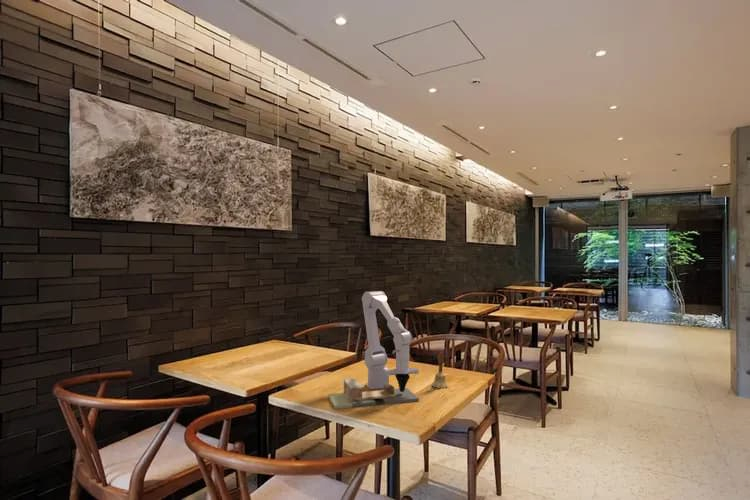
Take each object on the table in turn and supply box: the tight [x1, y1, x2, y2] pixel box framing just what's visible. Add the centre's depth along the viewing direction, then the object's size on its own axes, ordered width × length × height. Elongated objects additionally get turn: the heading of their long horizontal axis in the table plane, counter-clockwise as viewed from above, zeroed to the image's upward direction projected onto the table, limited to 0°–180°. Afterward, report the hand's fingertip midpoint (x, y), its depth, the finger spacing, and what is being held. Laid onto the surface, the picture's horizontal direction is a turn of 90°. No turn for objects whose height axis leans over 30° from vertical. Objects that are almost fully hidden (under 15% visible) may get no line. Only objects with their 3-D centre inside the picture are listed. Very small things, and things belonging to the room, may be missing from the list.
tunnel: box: [343, 378, 364, 403], centre depth 177 cm, size 5×12×6 cm, turn 17°
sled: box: [345, 383, 395, 401], centre depth 179 cm, size 20×7×4 cm, turn 107°
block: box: [346, 385, 359, 398], centre depth 177 cm, size 4×4×4 cm
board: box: [327, 387, 420, 410], centre depth 180 cm, size 36×14×1 cm, turn 107°
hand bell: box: [430, 351, 450, 389], centre depth 200 cm, size 8×8×16 cm
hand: (401, 391), depth 183 cm, fingers closed
